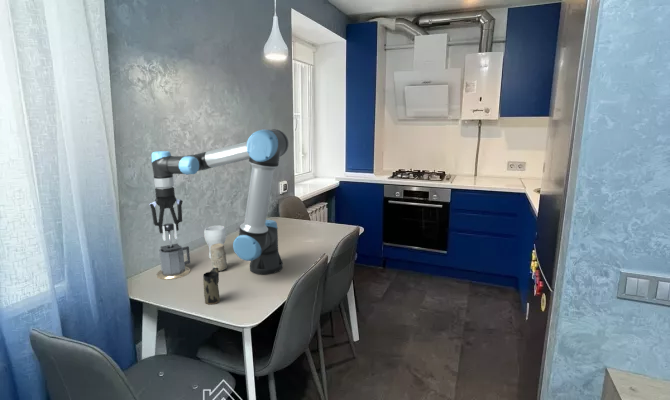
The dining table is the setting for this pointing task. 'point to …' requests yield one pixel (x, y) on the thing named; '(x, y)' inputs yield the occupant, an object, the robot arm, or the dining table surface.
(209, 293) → the mug
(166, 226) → the black knob on rod
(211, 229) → the cup
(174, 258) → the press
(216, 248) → the carving
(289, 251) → the dining table surface
